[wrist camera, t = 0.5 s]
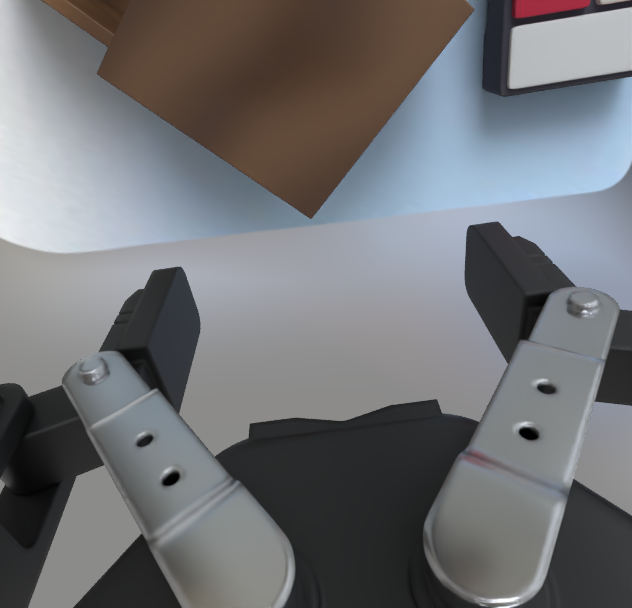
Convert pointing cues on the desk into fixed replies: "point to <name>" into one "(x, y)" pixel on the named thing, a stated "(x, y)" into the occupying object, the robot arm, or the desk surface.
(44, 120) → the desk surface
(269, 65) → the cabinet
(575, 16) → the calculator
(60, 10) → the drawer
